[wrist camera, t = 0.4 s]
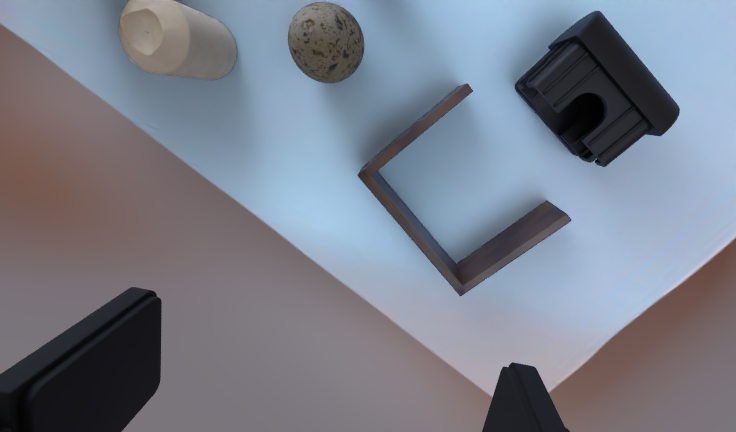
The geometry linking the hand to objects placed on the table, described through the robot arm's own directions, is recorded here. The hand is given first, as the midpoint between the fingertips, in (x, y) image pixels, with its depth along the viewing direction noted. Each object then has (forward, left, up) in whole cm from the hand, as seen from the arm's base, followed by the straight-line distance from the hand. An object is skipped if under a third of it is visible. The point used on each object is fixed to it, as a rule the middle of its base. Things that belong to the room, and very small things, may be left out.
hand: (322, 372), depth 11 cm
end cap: (-18, +5, -30) cm, 35 cm away
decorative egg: (-4, -12, -30) cm, 32 cm away
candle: (+5, -20, -30) cm, 36 cm away
